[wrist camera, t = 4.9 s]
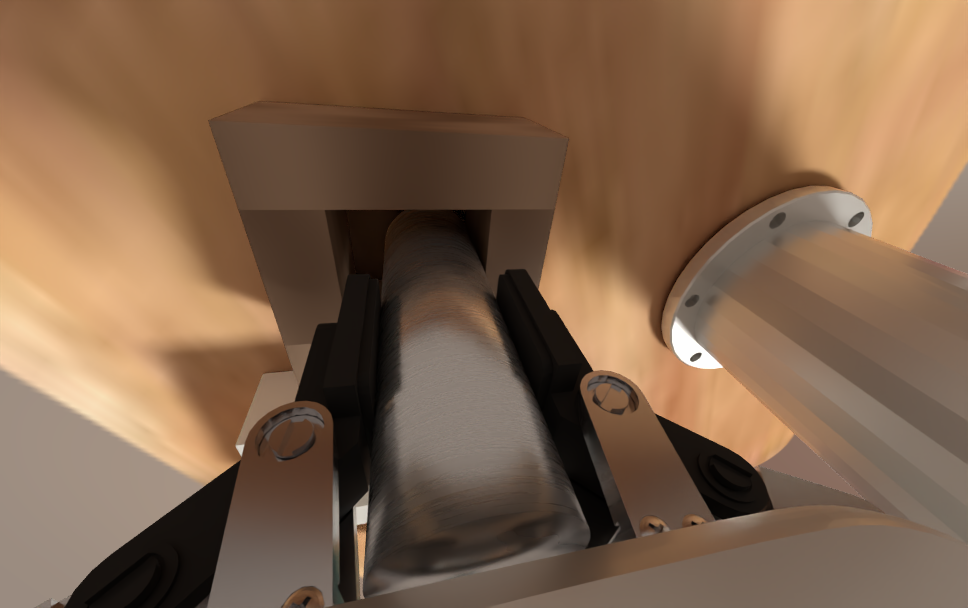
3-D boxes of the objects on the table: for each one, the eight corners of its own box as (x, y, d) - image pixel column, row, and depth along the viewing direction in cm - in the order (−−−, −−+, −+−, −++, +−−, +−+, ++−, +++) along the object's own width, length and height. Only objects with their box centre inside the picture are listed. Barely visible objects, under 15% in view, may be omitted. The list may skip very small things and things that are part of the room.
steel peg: (472, 205, 13) (619, 492, 5) (467, 280, 15) (564, 584, 6) (381, 204, 13) (344, 545, 4) (388, 283, 14) (375, 629, 6)
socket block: (525, 117, 13) (568, 138, 10) (499, 309, 18) (523, 362, 15) (259, 101, 11) (208, 120, 8) (315, 322, 16) (298, 387, 13)
